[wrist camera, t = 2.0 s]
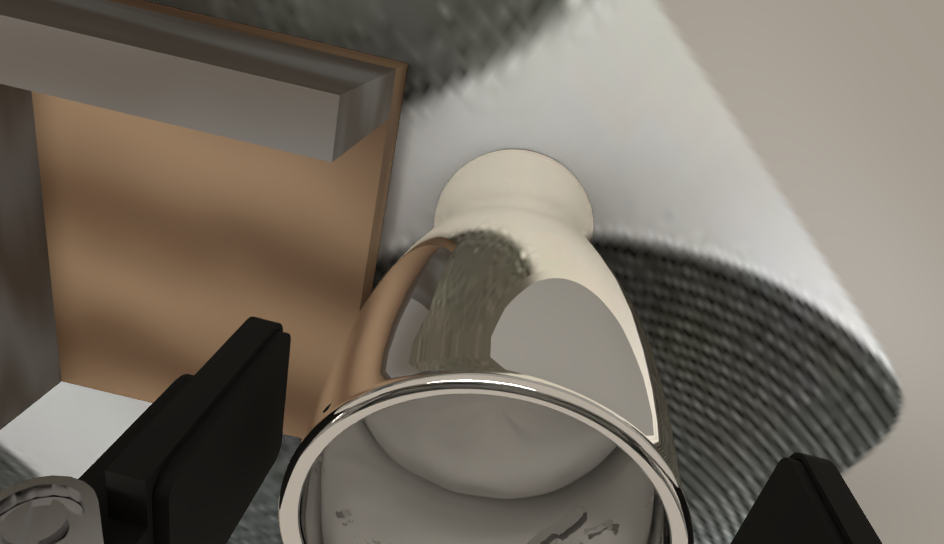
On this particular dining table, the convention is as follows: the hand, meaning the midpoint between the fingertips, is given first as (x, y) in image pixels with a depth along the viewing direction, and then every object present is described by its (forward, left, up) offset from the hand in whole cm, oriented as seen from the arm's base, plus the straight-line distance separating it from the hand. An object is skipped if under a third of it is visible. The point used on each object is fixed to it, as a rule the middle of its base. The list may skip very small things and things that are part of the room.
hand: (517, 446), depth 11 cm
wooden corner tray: (-3, +12, -13) cm, 18 cm away
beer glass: (0, 0, -13) cm, 13 cm away
